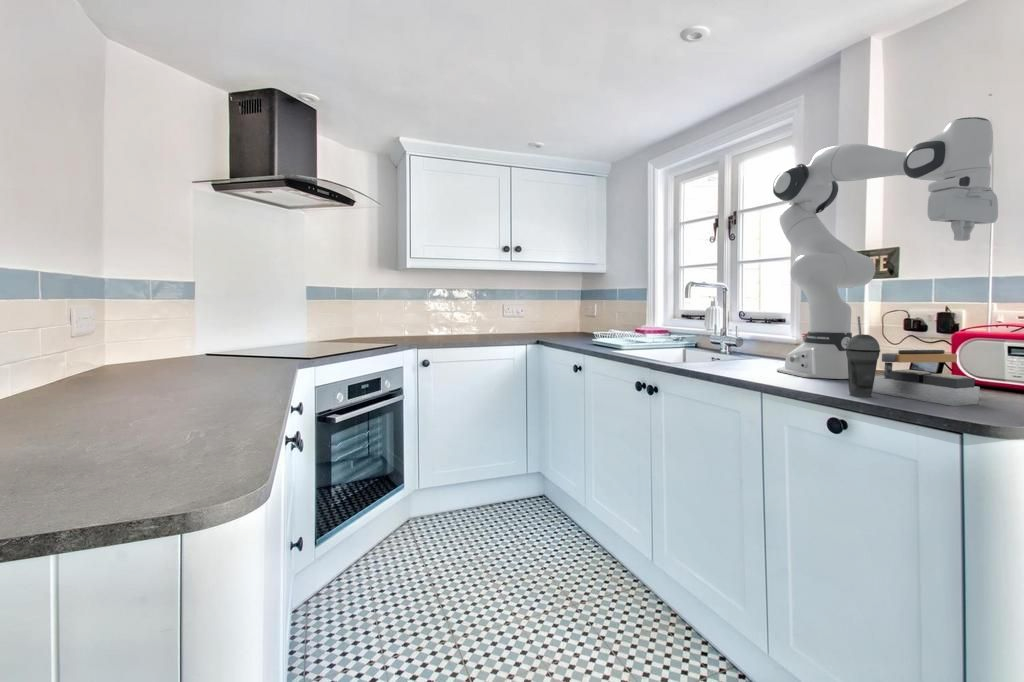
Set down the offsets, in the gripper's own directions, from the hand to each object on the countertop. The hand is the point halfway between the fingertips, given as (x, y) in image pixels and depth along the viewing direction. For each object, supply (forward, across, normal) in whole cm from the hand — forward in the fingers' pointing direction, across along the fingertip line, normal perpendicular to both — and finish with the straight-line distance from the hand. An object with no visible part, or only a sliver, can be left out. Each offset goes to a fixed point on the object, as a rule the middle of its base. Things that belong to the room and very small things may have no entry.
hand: (961, 240), depth 125 cm
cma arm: (+31, +5, -5) cm, 32 cm away
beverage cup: (+39, +25, -5) cm, 47 cm away
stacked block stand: (+39, +13, +1) cm, 41 cm away
